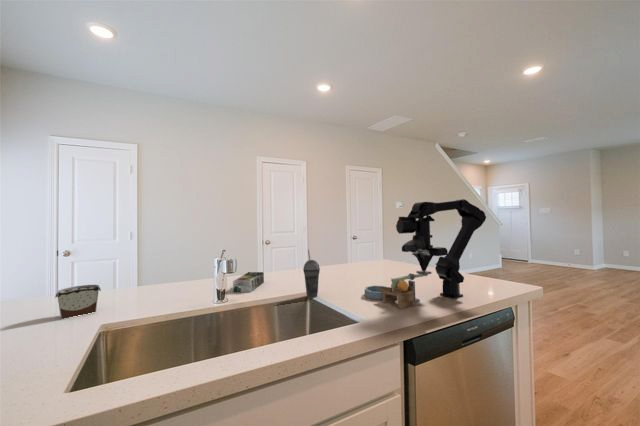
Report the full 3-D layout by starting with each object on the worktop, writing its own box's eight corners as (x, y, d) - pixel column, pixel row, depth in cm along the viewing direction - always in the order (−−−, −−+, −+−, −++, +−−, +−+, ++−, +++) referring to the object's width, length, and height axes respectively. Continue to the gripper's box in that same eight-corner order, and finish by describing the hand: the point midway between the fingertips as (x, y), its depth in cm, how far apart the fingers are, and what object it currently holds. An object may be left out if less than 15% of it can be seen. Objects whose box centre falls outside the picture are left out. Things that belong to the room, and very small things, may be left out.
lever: (423, 283, 110) (423, 270, 110) (431, 285, 106) (431, 271, 106) (389, 289, 101) (388, 275, 101) (396, 292, 98) (396, 277, 98)
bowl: (379, 291, 119) (379, 284, 119) (396, 297, 109) (396, 289, 109) (360, 294, 114) (360, 287, 114) (376, 301, 104) (376, 293, 104)
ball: (403, 290, 101) (402, 279, 102) (411, 291, 98) (410, 280, 98) (395, 291, 99) (394, 280, 100) (403, 293, 96) (402, 282, 96)
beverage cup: (318, 299, 109) (317, 250, 110) (301, 298, 111) (300, 250, 111) (322, 294, 116) (321, 248, 117) (306, 293, 118) (305, 248, 118)
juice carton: (251, 293, 121) (251, 279, 122) (231, 293, 122) (230, 280, 122) (264, 283, 141) (264, 271, 142) (247, 283, 142) (246, 271, 142)
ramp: (392, 298, 108) (392, 280, 108) (414, 305, 98) (413, 286, 98) (380, 300, 105) (379, 282, 105) (400, 308, 95) (400, 289, 95)
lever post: (412, 298, 107) (411, 279, 107) (419, 301, 103) (419, 281, 103) (404, 300, 105) (404, 280, 105) (412, 303, 101) (411, 282, 101)
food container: (99, 308, 105) (99, 282, 105) (100, 311, 100) (100, 285, 100) (55, 316, 96) (55, 289, 96) (55, 321, 91) (54, 292, 92)
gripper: (391, 232, 112) (392, 269, 112) (427, 234, 96) (428, 277, 95) (410, 231, 117) (411, 266, 117) (447, 233, 101) (449, 274, 100)
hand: (423, 271), depth 107 cm, fingers closed
